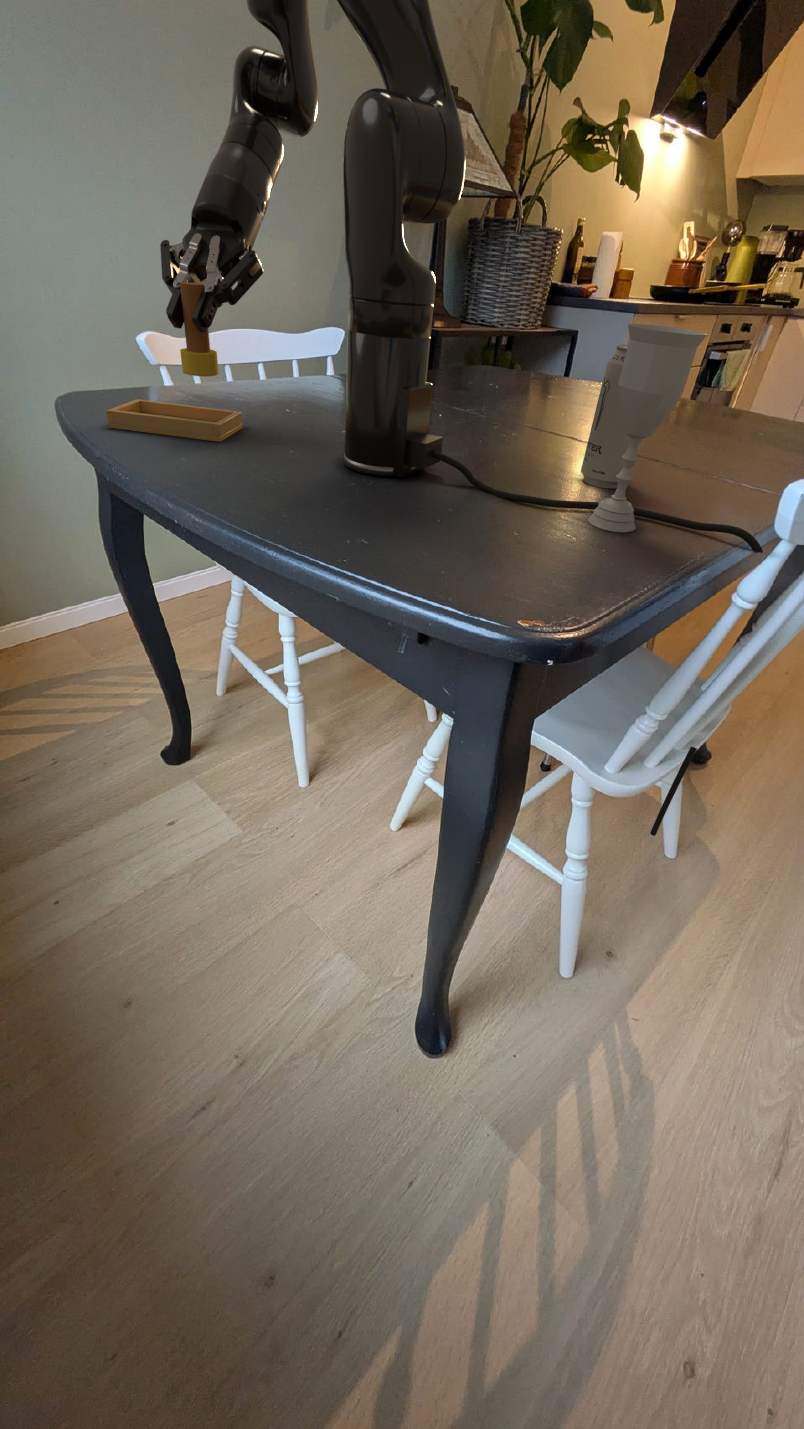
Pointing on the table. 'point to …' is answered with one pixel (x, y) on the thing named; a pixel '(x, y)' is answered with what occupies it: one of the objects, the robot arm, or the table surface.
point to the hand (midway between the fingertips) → (186, 324)
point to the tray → (175, 420)
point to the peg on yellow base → (196, 336)
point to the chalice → (646, 403)
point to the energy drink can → (607, 430)
